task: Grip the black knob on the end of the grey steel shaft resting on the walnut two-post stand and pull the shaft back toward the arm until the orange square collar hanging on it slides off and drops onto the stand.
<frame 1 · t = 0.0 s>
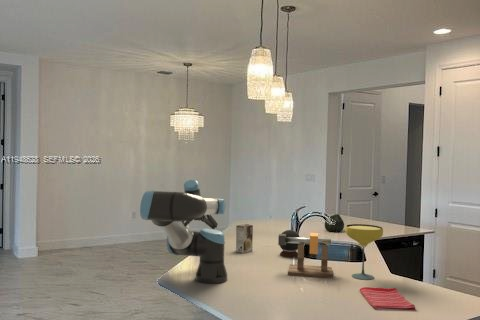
hand: (200, 235, 242), 15 cm above the counter, tool tilted 35°, fingers open, 13 cm apart
cocktail glass: (362, 277, 222), on the counter
squash: (334, 231, 356), on the counter
stand: (310, 272, 229), on the counter
dish towel: (385, 302, 187), on the counter
shaft: (304, 240, 229), point 16 cm above the counter, slide at 0.0 cm, touching collar
coffee box: (244, 251, 275), on the counter
black stacked round piece: (289, 255, 267), on the counter
collar: (313, 252, 228), point 10 cm above the counter, touching shaft
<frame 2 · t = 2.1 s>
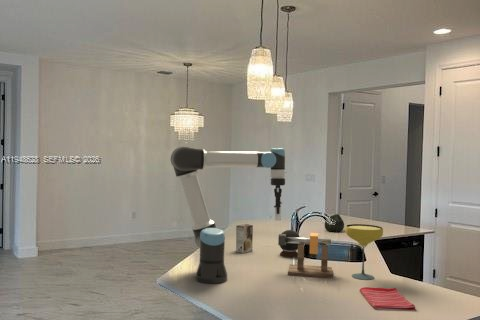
hand: (278, 218, 233), 27 cm above the counter, tool pointing down, fingers open, 13 cm apart
nothing on the counter moved.
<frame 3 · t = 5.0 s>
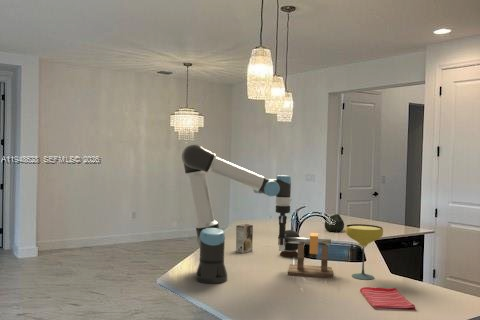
hand: (281, 249, 231), 11 cm above the counter, tool pointing down, fingers closed on shaft, 4 cm apart
shaft: (304, 240, 229), point 16 cm above the counter, slide at 0.0 cm, touching collar, gripper
everything else where it was.
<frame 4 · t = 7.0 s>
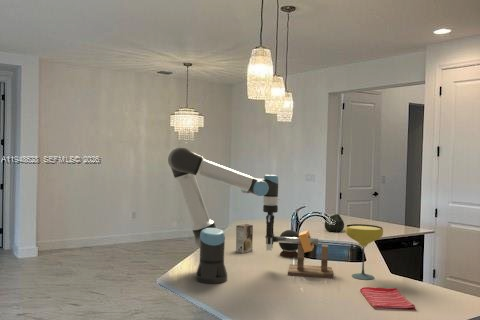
hand: (269, 249, 232), 11 cm above the counter, tool pointing down, fingers closed on shaft, 4 cm apart
shaft: (292, 240, 230), point 16 cm above the counter, slide at 6.4 cm, touching gripper
collar: (309, 249, 228), point 12 cm above the counter, tilted 21°
everything else where it was.
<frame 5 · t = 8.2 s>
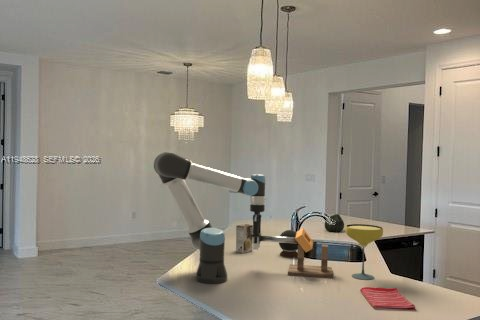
hand: (256, 248, 233), 11 cm above the counter, tool pointing down, fingers closed on shaft, 4 cm apart
shaft: (278, 239, 231), point 16 cm above the counter, slide at 13.3 cm, touching gripper
collar: (309, 247, 229), point 13 cm above the counter, tilted 38°
everything else where it was.
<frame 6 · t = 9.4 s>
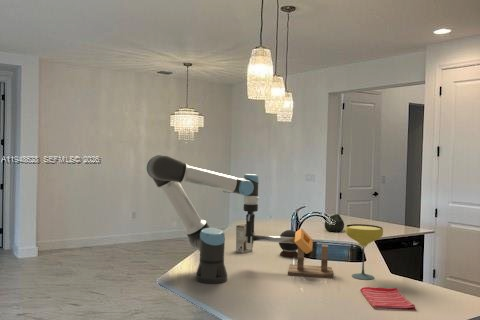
hand: (249, 247, 234), 11 cm above the counter, tool pointing down, fingers closed on shaft, 4 cm apart
shaft: (272, 239, 232), point 16 cm above the counter, slide at 16.7 cm, touching collar, gripper
collar: (309, 246, 228), point 13 cm above the counter, tilted 47°, touching shaft, stand
everything else where it was.
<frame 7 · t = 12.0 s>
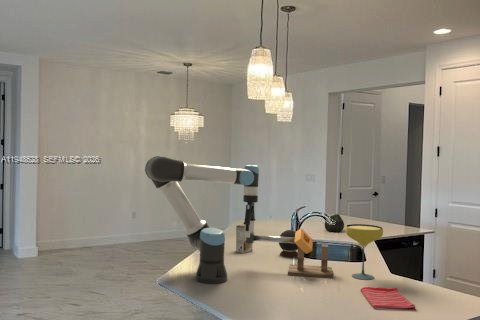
hand: (249, 235, 234), 17 cm above the counter, tool pointing down, fingers open, 13 cm apart
shaft: (272, 239, 232), point 16 cm above the counter, slide at 16.8 cm, touching collar
everything else where it was.
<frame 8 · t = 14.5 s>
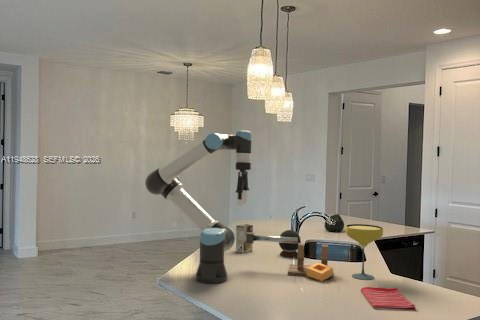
hand: (242, 204, 221), 35 cm above the counter, tool pointing down, fingers open, 13 cm apart
shaft: (272, 239, 232), point 16 cm above the counter, slide at 16.8 cm
collar: (312, 268, 221), point 4 cm above the counter, tilted 97°, touching stand
everything else where it was.
at the end: shaft slide at 16.8 cm; collar point 3.7 cm above the counter; collar touching stand, counter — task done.
